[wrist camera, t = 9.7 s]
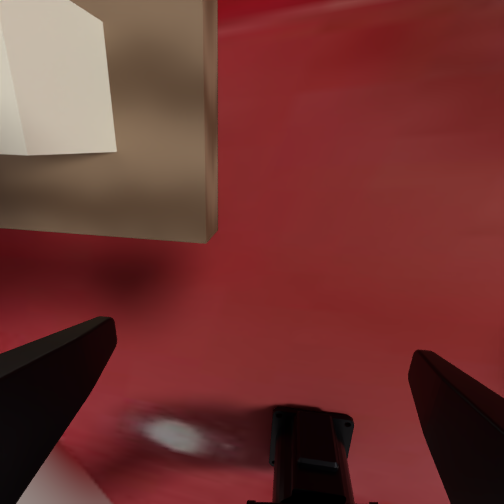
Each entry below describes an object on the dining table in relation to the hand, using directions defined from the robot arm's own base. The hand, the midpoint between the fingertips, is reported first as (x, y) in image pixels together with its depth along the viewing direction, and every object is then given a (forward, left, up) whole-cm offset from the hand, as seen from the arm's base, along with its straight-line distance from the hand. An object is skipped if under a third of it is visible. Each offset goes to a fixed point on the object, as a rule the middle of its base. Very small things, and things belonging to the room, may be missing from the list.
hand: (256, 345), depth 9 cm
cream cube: (+8, +12, -9) cm, 17 cm away
